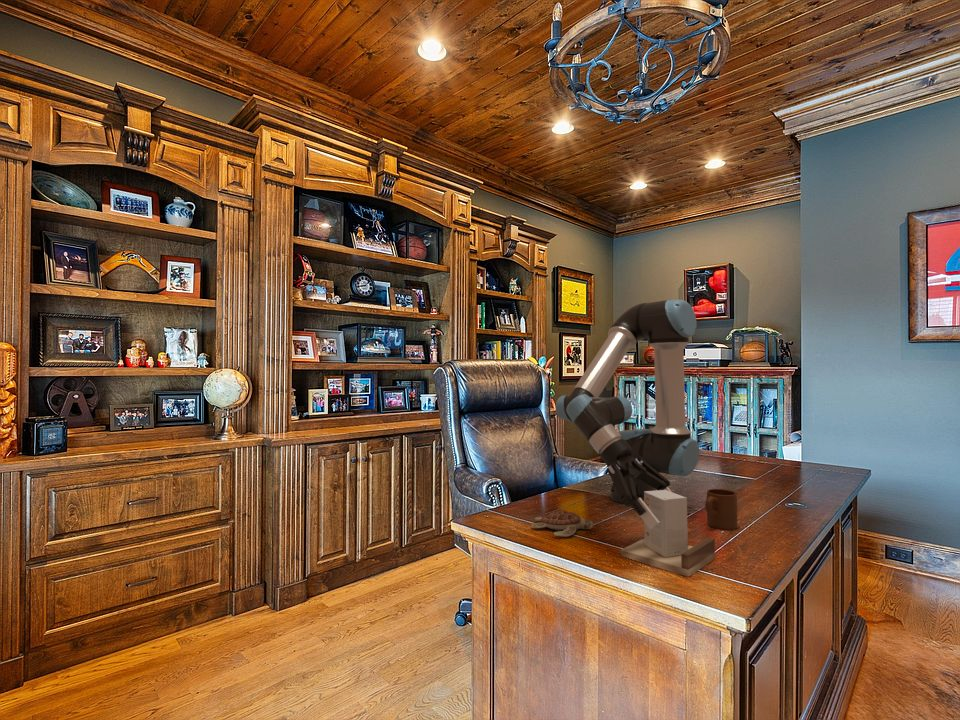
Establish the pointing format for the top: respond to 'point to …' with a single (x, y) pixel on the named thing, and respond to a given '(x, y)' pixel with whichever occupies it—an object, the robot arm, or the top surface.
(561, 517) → the decorative turtle
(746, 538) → the top surface
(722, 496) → the mug
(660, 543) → the small box
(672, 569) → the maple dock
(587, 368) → the robot arm
